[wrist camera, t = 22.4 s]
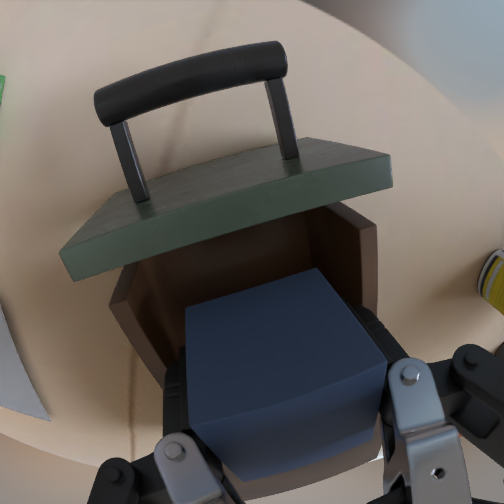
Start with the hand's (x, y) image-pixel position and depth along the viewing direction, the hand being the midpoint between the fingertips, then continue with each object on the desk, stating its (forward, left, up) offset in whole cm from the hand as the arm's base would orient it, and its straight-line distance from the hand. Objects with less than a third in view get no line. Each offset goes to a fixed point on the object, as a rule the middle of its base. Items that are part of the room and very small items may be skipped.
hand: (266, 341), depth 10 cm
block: (0, 0, 0) cm, 0 cm away
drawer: (-1, -1, -8) cm, 8 cm away
